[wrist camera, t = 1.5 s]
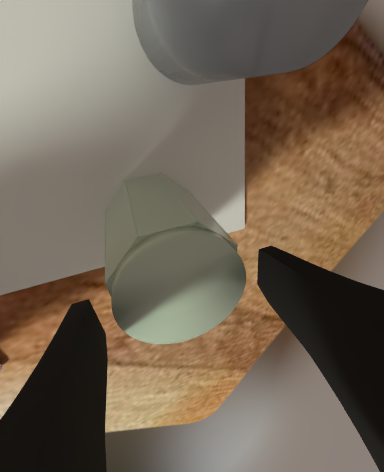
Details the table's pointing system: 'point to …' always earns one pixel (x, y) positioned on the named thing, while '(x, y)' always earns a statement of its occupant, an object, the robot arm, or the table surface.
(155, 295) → the sage cup
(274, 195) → the table surface
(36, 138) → the grey mat
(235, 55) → the grey pillar candle
